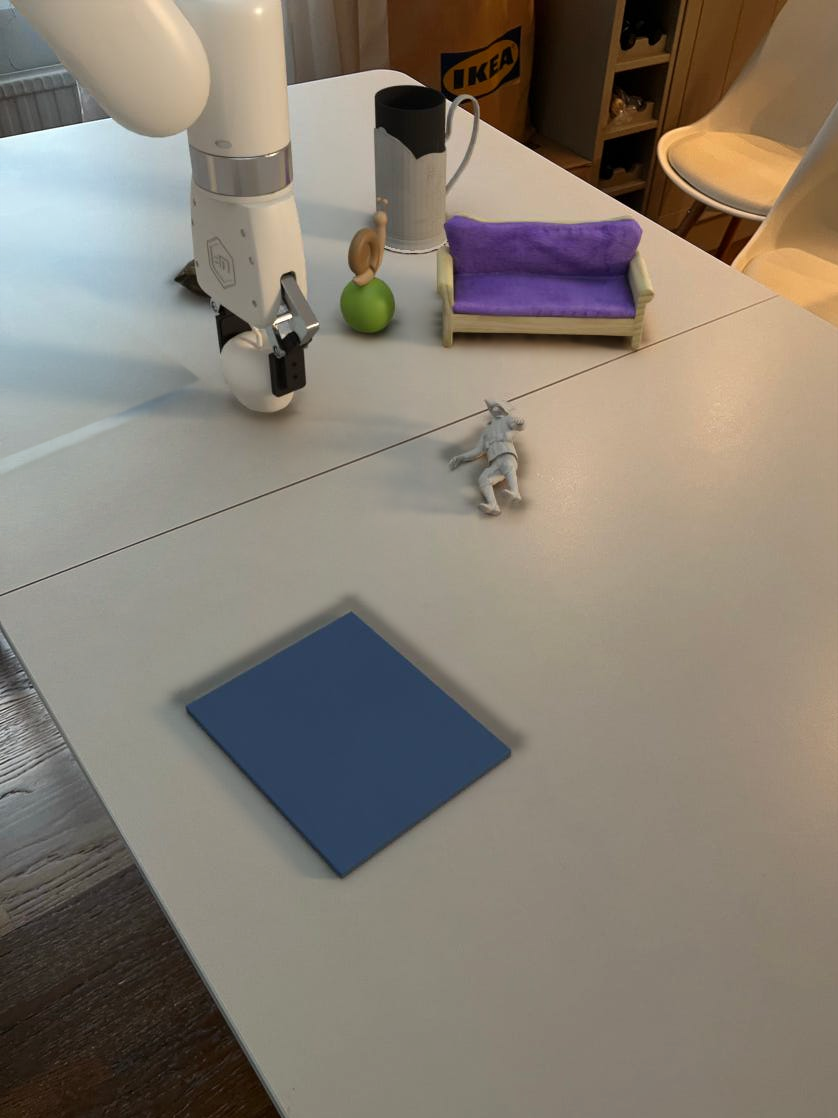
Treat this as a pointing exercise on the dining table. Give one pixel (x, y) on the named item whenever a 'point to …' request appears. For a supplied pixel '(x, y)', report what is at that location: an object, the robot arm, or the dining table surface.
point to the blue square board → (347, 740)
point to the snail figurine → (368, 280)
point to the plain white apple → (251, 371)
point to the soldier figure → (497, 454)
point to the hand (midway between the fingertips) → (262, 370)
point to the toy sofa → (543, 277)
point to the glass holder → (415, 163)
